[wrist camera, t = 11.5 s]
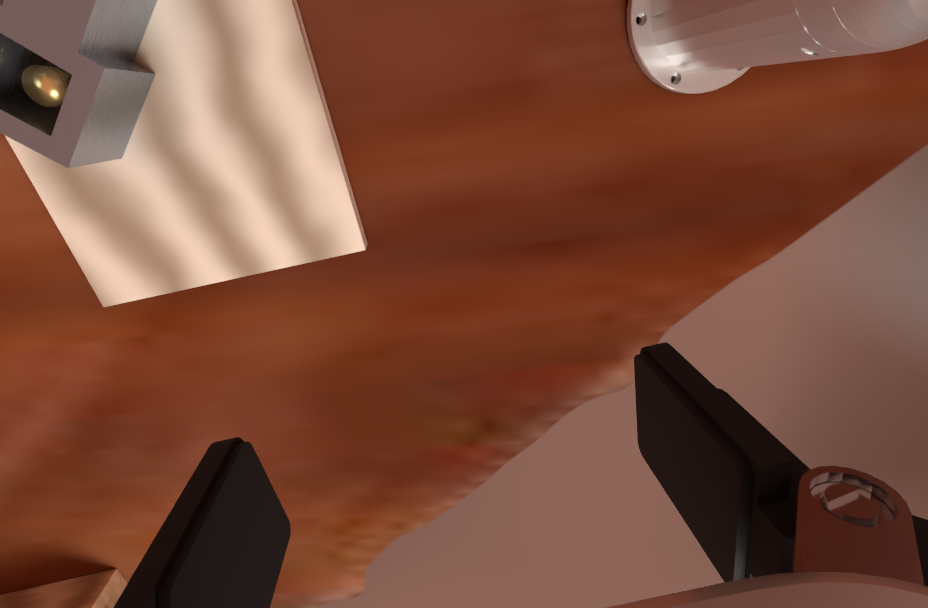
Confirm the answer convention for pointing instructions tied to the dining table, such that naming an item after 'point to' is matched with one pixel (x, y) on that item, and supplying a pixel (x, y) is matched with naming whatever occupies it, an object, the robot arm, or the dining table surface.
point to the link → (75, 75)
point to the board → (210, 160)
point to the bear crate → (71, 593)
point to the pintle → (46, 84)
